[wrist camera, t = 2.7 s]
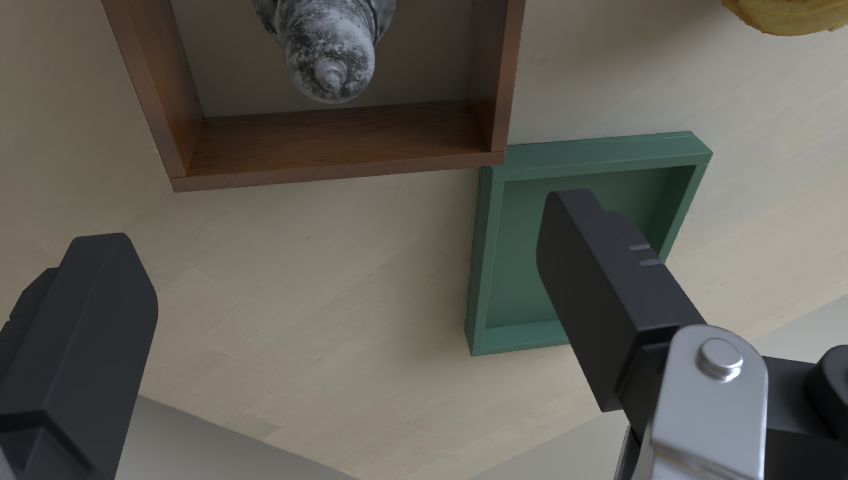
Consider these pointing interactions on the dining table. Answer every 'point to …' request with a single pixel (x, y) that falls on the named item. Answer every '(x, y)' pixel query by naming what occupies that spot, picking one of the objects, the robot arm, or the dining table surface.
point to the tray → (522, 213)
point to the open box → (317, 113)
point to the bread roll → (791, 15)
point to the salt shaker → (328, 42)
